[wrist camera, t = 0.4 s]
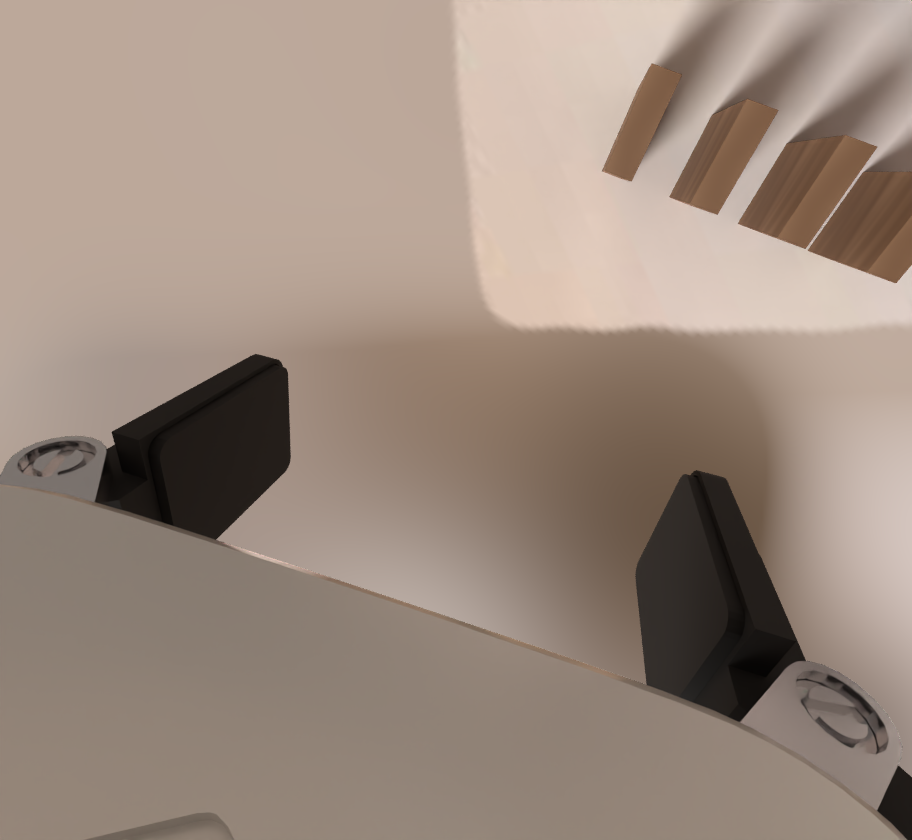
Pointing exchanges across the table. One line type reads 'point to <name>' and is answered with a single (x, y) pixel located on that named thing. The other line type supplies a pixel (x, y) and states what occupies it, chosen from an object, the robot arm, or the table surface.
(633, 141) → the domino
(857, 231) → the domino
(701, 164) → the domino
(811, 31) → the table surface
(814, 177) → the domino
